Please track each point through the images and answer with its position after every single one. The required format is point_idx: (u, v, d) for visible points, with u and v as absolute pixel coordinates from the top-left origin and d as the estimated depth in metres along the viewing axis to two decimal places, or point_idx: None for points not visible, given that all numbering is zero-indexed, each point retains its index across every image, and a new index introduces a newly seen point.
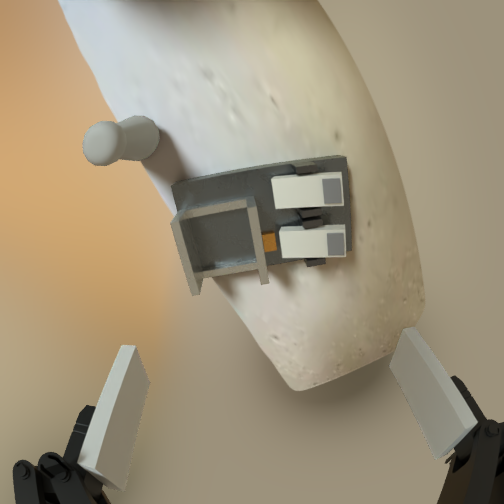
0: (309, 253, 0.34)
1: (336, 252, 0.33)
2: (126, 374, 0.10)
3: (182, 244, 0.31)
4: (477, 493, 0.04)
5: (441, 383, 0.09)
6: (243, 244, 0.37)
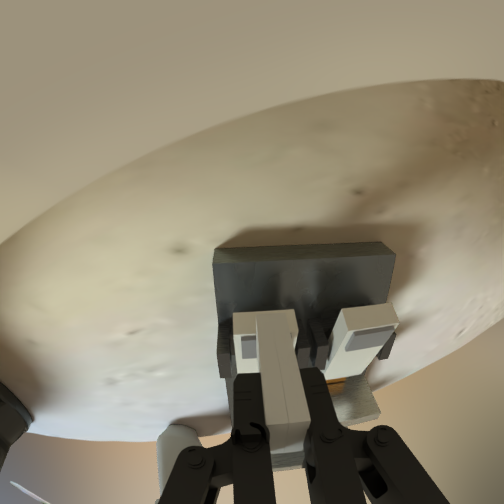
0: (368, 357, 0.18)
1: (384, 338, 0.16)
2: None
3: (293, 467, 0.22)
4: None
5: (284, 370, 0.10)
6: None
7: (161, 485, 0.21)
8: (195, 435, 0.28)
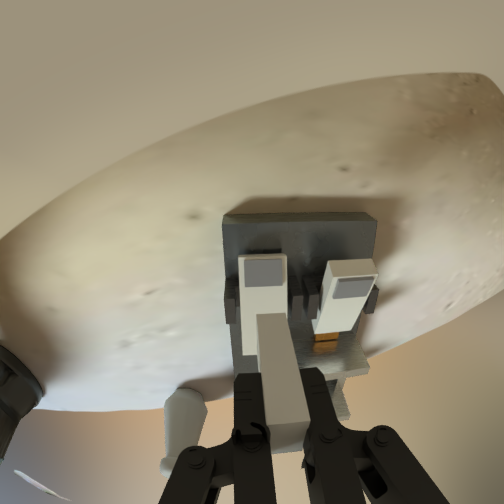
0: (355, 310, 0.22)
1: (365, 288, 0.19)
2: None
3: None
4: None
5: (284, 370, 0.10)
6: None
7: (167, 445, 0.26)
8: (201, 398, 0.33)
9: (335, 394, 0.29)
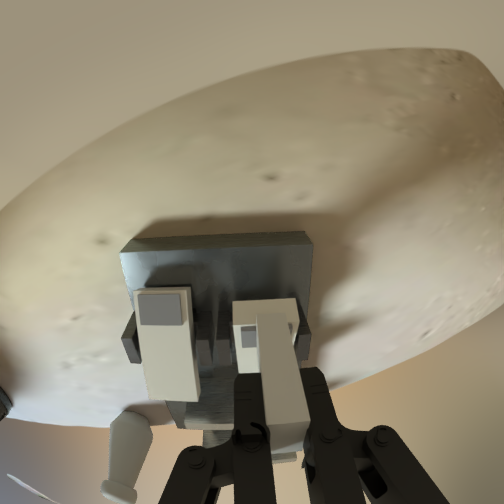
0: None
1: None
2: None
3: None
4: None
5: (284, 370, 0.10)
6: None
7: (109, 468, 0.21)
8: (145, 423, 0.28)
9: None
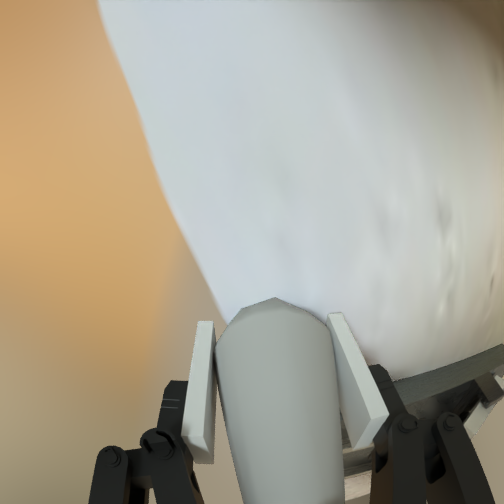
0: None
1: None
2: (211, 346, 0.12)
3: None
4: (407, 496, 0.05)
5: (354, 369, 0.10)
6: None
7: (327, 464, 0.06)
8: None
9: None
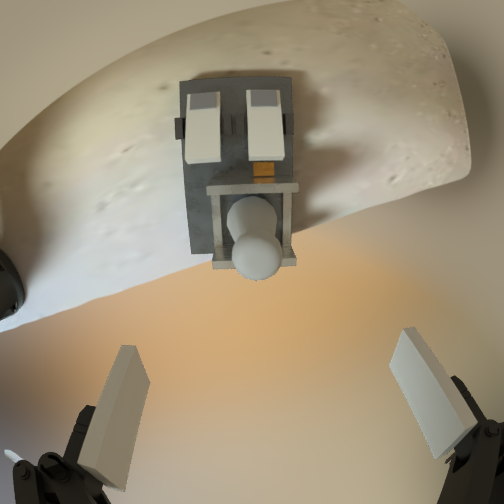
0: (276, 125, 0.27)
1: (273, 97, 0.27)
2: (126, 374, 0.10)
3: None
4: (477, 493, 0.04)
5: (441, 383, 0.09)
6: (263, 195, 0.34)
7: (265, 227, 0.26)
8: None
9: (283, 246, 0.35)
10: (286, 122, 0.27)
